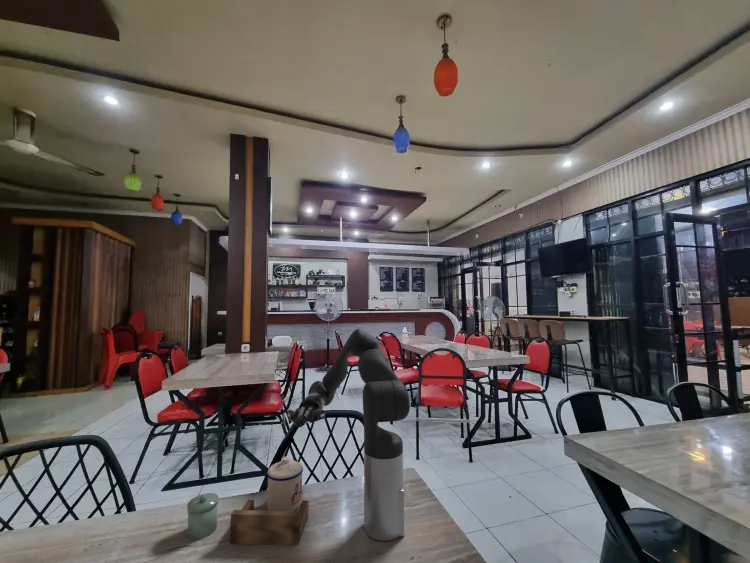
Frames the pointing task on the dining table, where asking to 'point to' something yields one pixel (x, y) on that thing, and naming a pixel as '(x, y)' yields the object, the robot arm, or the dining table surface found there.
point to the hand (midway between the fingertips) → (299, 424)
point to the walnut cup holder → (268, 525)
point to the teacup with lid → (284, 485)
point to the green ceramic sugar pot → (202, 516)
